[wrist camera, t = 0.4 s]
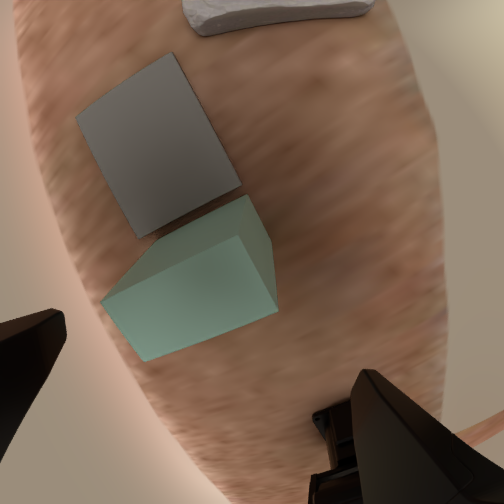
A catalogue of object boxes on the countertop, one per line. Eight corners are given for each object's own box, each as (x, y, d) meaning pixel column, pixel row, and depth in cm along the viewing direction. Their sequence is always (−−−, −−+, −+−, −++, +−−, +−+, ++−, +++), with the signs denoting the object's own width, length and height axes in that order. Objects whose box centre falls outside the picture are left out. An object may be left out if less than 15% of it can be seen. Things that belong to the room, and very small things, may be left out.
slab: (271, 241, 21) (278, 311, 13) (182, 282, 22) (143, 362, 14) (247, 193, 20) (237, 234, 12) (156, 239, 21) (100, 302, 13)
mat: (242, 184, 20) (242, 185, 20) (140, 237, 21) (138, 239, 21) (173, 53, 17) (171, 51, 17) (77, 117, 18) (75, 117, 18)
